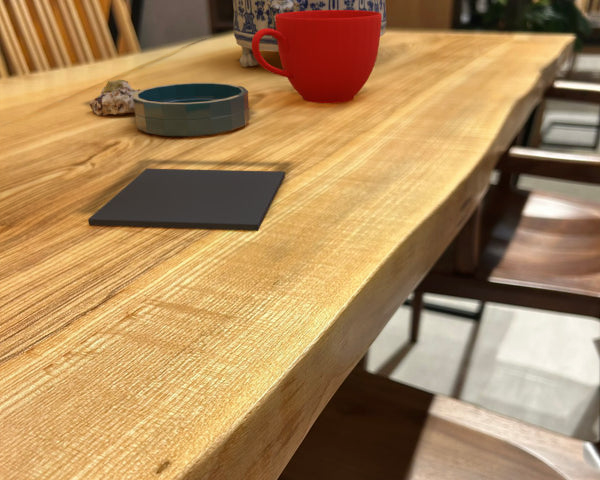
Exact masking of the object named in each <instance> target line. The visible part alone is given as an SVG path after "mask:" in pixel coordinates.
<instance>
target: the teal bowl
mask: <svg viewBox="0 0 600 480" xmlns="http://www.w3.org/2000/svg"><path fill="white" fill-rule="evenodd" d="M139 90H140V91H138V92H136V93H134V94H133V102H134V109H135V112H134V116H135V123H136V129H137V130H139V131H142V132H144V133H147V134H149V135H157V136H163V137H172V138H173V137H174V138H189V137H190V138H191V137H203V136H204V137H206V136H213V135H218V134H223V133H228V132H230V131H234V130H236V129H239V128H241V127H244V126H246V125H247V124H248V123H249V121H250V106H249V90H247V89H246V87H244V86H241V85H237V84H233V83H224V82H182V83H171V84H163V85H157V86H151V87H146V88H142V89H139Z"/></svg>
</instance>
